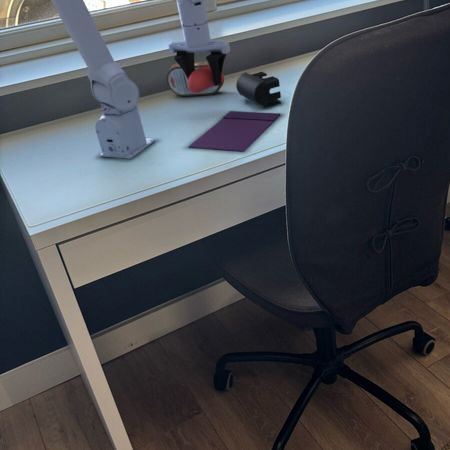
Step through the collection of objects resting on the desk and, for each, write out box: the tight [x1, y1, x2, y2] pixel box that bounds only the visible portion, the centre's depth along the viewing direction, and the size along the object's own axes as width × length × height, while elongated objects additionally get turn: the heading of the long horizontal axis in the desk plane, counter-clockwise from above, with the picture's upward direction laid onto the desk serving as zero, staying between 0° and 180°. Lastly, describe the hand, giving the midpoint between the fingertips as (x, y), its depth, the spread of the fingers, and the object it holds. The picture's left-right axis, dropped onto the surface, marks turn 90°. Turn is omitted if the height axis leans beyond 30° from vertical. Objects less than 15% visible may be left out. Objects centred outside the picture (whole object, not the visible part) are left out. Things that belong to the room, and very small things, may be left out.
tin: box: [165, 60, 225, 97], centre depth 147 cm, size 15×3×8 cm, turn 84°
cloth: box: [188, 110, 282, 153], centre depth 125 cm, size 20×13×1 cm, turn 159°
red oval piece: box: [188, 66, 225, 93], centre depth 130 cm, size 5×9×6 cm, turn 126°
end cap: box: [235, 71, 282, 109], centre depth 137 cm, size 10×7×7 cm
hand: (205, 84), depth 131 cm, fingers closed on red oval piece, 6 cm apart
